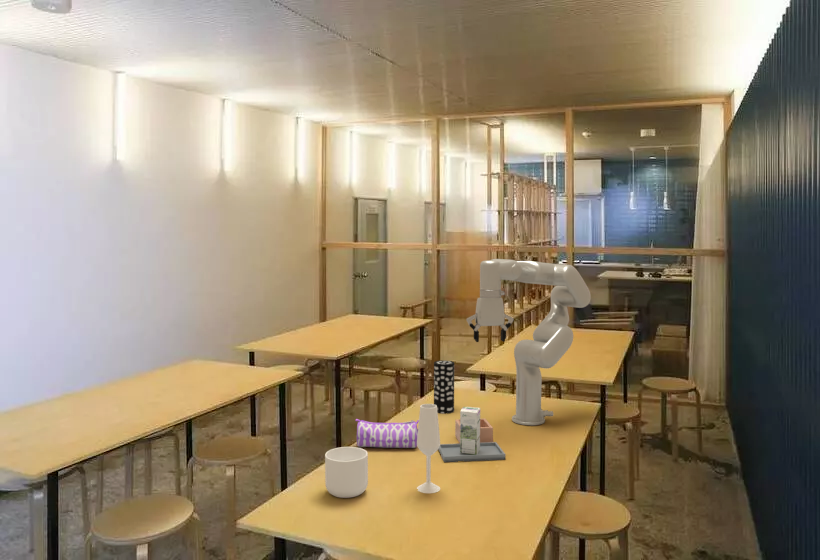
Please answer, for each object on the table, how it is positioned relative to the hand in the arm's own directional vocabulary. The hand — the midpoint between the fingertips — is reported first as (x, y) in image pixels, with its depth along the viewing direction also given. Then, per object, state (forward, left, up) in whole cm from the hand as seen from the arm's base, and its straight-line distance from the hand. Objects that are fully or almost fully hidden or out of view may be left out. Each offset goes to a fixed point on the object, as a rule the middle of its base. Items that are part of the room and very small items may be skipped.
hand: (489, 341), depth 233 cm
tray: (+12, +24, -33) cm, 43 cm away
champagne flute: (+30, +50, -34) cm, 67 cm away
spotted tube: (+12, -28, -34) cm, 45 cm away
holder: (+8, +10, -33) cm, 36 cm away
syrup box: (+12, +24, -33) cm, 42 cm away
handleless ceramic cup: (+53, +50, -34) cm, 80 cm away
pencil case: (+38, +13, -34) cm, 53 cm away
